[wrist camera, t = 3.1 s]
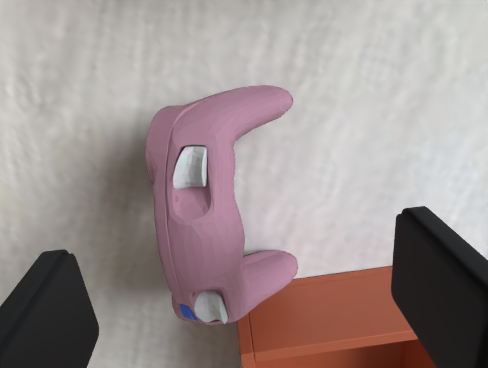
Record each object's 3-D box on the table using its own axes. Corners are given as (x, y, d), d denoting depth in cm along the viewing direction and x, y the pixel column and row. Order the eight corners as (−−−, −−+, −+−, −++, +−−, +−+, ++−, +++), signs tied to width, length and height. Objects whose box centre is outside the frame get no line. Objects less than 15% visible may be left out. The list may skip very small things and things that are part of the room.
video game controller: (203, 80, 17) (98, 116, 11) (298, 77, 16) (232, 118, 10) (225, 256, 21) (154, 351, 15) (303, 269, 19) (258, 381, 14)
